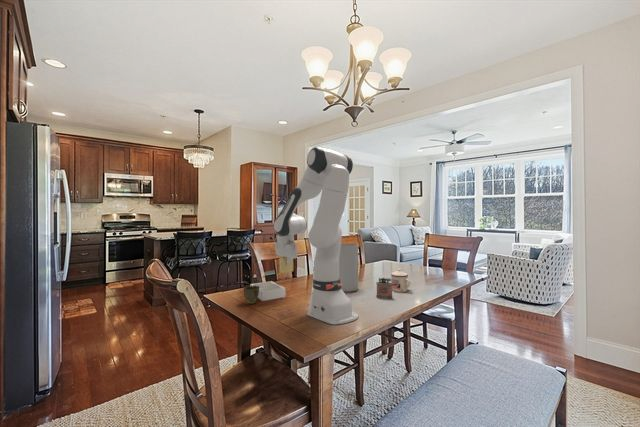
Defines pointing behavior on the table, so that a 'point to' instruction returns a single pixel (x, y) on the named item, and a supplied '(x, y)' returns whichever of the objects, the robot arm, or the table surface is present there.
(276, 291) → the rack
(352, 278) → the cylinder vase
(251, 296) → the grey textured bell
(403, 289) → the teacup with lid
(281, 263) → the panel
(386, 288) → the lighter
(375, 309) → the table surface
